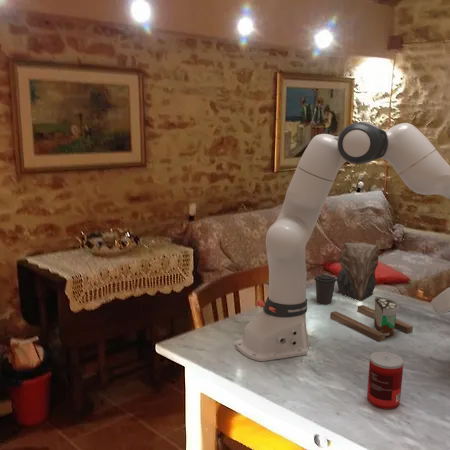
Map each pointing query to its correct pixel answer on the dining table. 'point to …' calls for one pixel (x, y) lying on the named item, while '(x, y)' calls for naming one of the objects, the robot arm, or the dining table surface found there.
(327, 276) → the coffee cup
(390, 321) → the food container
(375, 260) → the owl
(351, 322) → the walnut bay
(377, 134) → the robot arm
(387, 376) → the canned food
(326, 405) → the dining table surface
